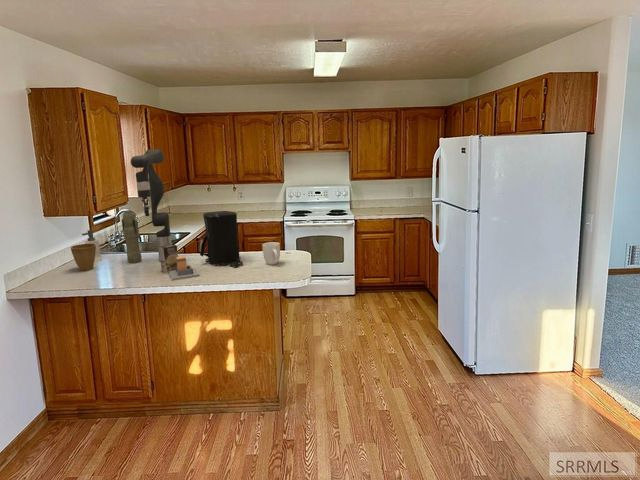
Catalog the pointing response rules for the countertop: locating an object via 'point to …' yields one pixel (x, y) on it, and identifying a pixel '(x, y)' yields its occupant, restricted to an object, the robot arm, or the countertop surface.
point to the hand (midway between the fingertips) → (147, 215)
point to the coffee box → (168, 257)
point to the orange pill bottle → (181, 263)
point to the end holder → (183, 273)
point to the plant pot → (84, 256)
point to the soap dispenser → (92, 241)
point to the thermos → (131, 237)
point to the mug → (271, 252)
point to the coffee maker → (221, 239)
